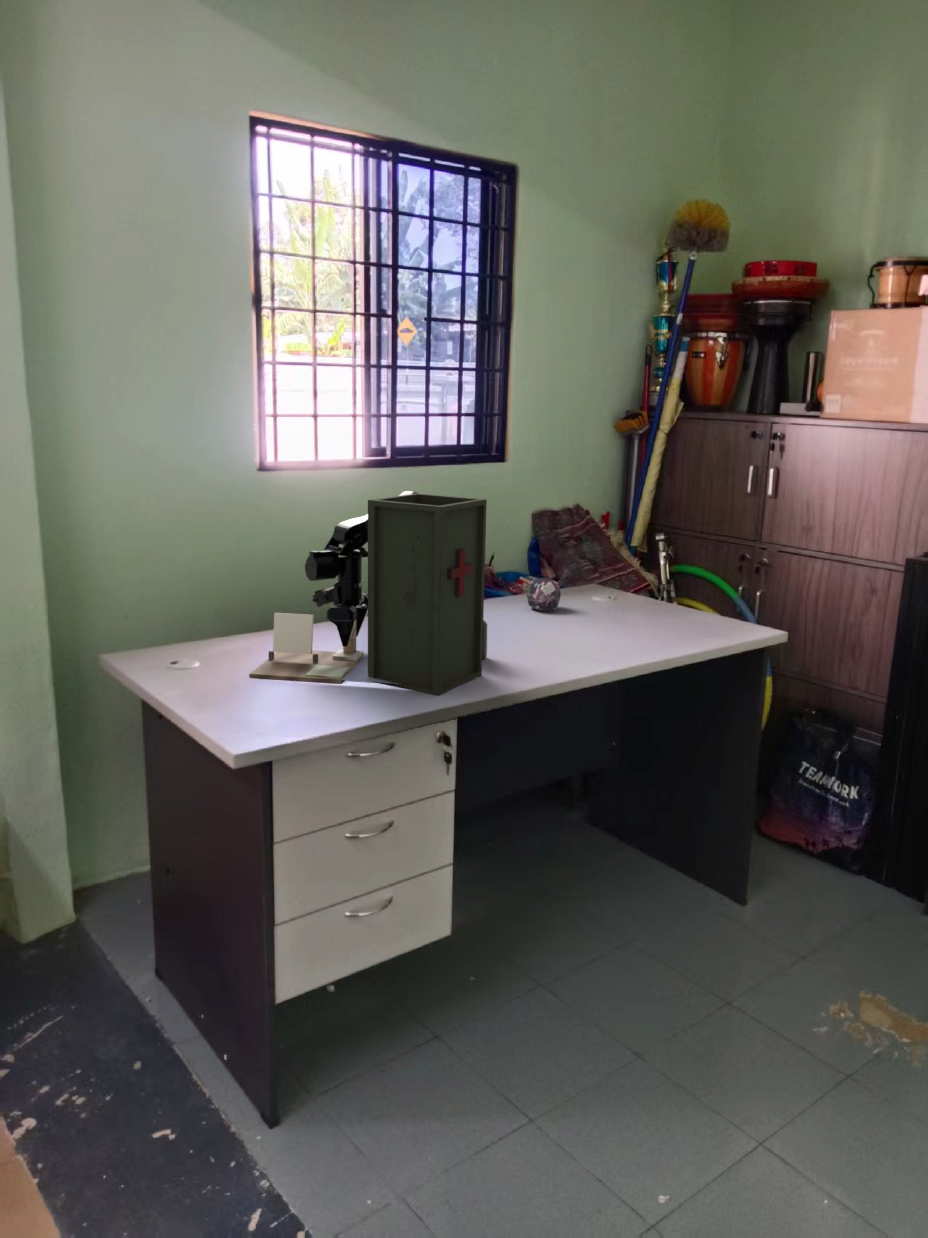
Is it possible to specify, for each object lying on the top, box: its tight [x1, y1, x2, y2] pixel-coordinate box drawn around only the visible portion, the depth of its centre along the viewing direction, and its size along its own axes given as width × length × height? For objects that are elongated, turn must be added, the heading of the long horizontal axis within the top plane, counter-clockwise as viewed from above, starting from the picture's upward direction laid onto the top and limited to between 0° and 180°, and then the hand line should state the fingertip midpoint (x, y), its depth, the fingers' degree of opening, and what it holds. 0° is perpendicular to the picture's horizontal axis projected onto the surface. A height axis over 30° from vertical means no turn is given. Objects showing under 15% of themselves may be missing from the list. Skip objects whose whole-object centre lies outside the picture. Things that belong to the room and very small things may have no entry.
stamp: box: [332, 623, 365, 661], centre depth 230 cm, size 6×6×8 cm
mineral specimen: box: [526, 577, 562, 612], centre depth 290 cm, size 10×10×10 cm
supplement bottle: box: [482, 614, 488, 661], centre depth 235 cm, size 7×7×12 cm
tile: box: [272, 612, 315, 654], centre depth 226 cm, size 9×9×1 cm
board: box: [248, 649, 367, 685], centre depth 225 cm, size 21×22×3 cm
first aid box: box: [367, 492, 488, 697], centre depth 215 cm, size 18×18×40 cm
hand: (350, 641), depth 232 cm, fingers open, 9 cm apart
